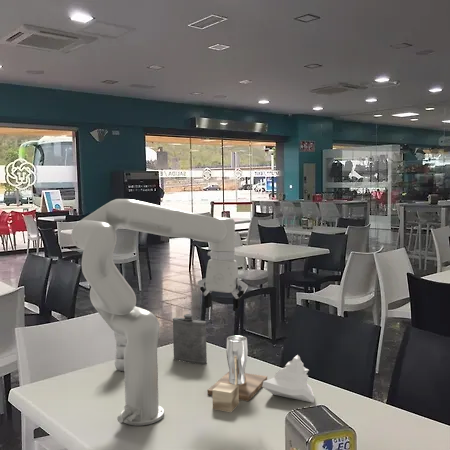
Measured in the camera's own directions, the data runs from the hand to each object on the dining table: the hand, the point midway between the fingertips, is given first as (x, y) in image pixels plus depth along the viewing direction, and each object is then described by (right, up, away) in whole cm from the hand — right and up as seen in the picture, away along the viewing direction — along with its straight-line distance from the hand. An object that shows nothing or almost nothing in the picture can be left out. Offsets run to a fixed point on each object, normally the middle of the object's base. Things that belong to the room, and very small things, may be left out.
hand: (222, 308), depth 167 cm
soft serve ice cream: (+22, -27, -4) cm, 35 cm away
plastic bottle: (-36, -26, +22) cm, 49 cm away
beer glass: (+5, -25, +4) cm, 26 cm away
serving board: (+5, -27, +4) cm, 27 cm away
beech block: (+1, -28, -11) cm, 30 cm away
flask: (-13, -25, +30) cm, 41 cm away
